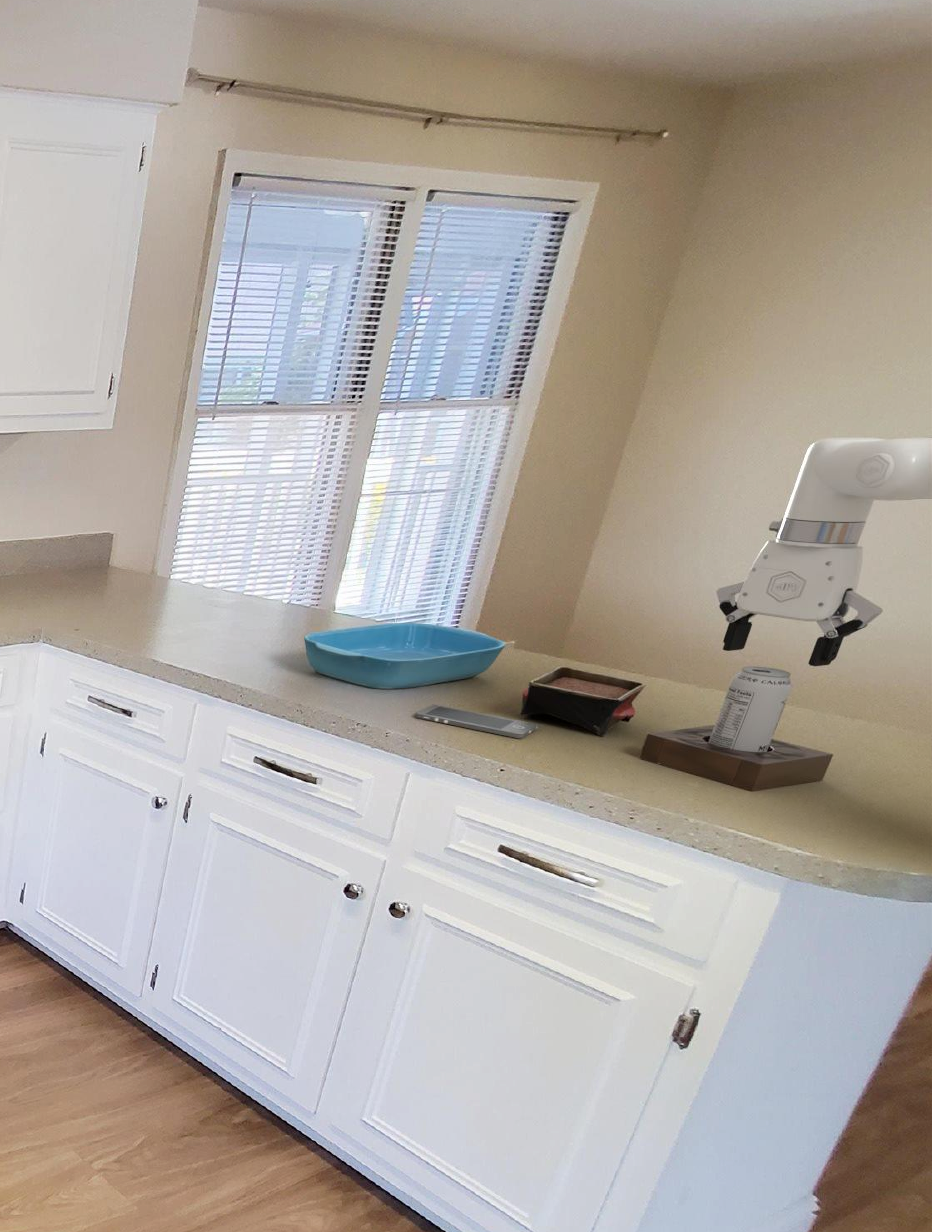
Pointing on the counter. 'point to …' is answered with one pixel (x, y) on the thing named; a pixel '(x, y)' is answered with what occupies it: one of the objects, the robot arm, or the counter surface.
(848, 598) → the robot arm
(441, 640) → the casserole dish
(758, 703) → the energy drink can
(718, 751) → the holder
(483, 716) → the smartphone
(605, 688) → the dark brown bonsai pot
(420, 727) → the counter surface
